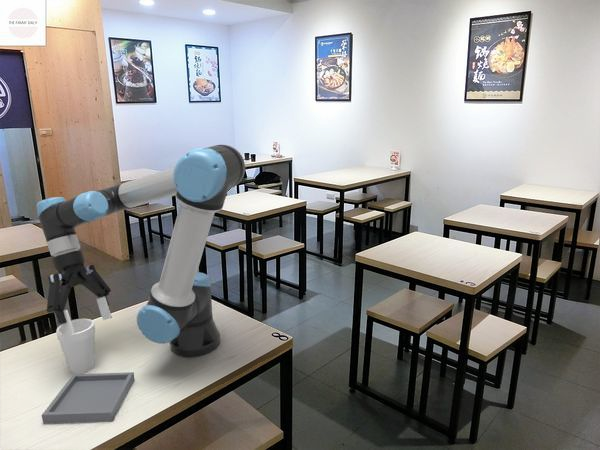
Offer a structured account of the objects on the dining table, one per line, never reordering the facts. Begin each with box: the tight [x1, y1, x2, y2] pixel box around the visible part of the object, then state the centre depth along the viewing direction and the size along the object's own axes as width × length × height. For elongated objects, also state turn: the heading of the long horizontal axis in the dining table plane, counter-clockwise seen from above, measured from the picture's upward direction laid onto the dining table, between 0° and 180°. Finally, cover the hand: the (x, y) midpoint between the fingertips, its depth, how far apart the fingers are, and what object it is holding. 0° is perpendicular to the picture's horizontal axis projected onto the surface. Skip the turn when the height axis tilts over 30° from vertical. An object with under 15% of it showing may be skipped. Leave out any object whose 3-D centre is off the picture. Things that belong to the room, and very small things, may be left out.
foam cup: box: [55, 318, 96, 375], centre depth 122 cm, size 10×9×13 cm
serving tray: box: [41, 371, 136, 425], centre depth 110 cm, size 16×16×2 cm
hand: (89, 326), depth 120 cm, fingers open, 13 cm apart
